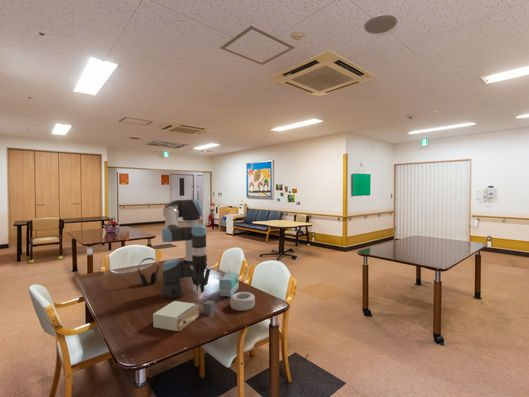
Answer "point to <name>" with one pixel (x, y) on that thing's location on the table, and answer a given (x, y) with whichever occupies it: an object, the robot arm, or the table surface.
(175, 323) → the drawer cabinet
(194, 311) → the wooden drawer
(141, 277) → the headphones
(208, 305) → the block
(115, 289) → the table surface
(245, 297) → the donut shape
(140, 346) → the table surface
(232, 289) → the radio
